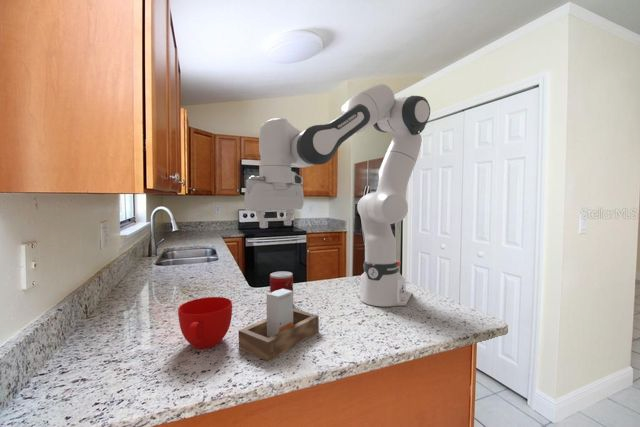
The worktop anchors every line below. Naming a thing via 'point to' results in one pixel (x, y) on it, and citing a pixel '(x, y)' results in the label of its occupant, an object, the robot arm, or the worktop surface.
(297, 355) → the worktop surface
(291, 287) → the canned food
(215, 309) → the ceramic cup
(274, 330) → the skincare box
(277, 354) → the brown hollow rectangular tray
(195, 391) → the worktop surface
